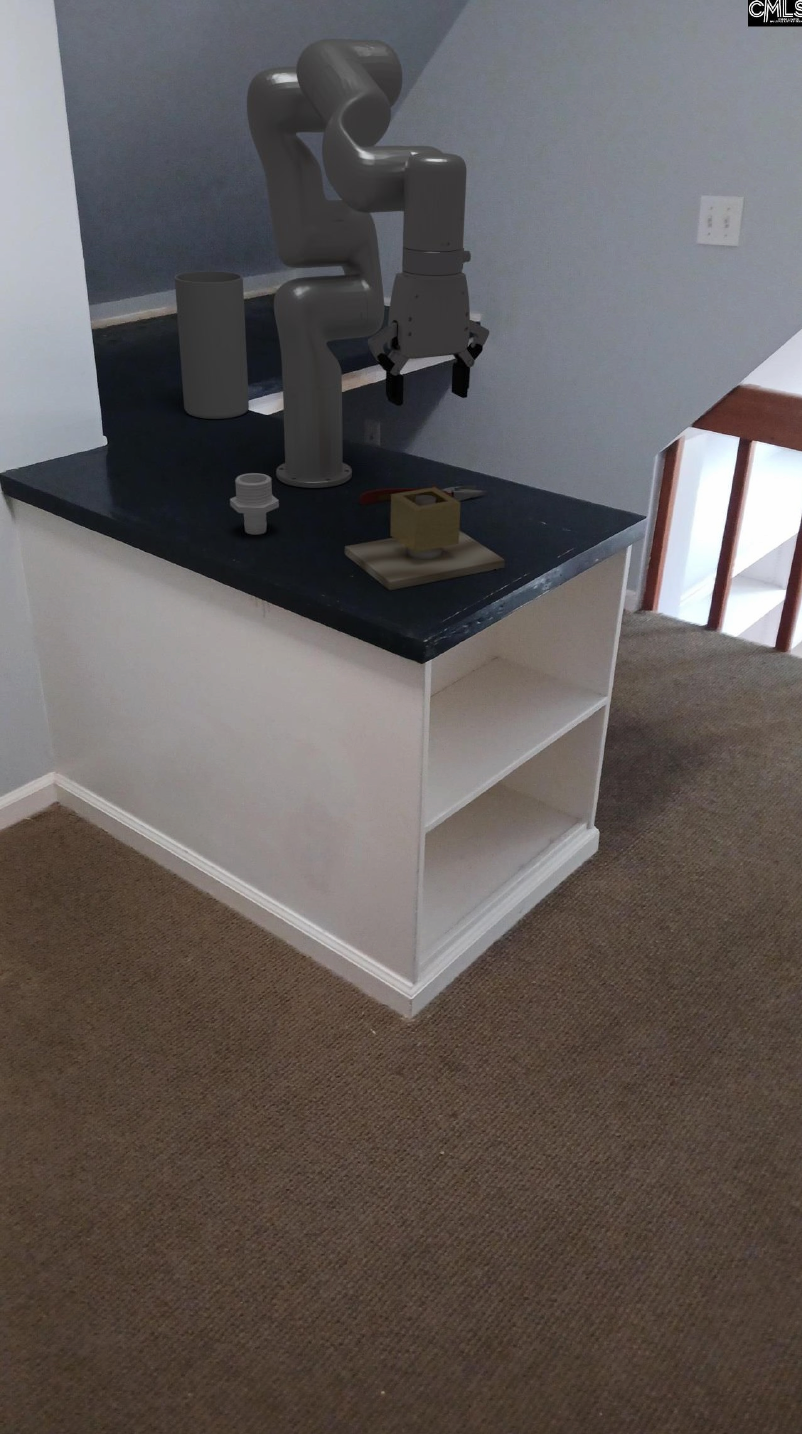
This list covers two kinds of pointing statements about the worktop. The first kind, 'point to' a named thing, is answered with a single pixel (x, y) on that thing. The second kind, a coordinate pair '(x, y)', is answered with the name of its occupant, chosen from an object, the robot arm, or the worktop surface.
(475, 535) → the worktop surface
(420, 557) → the post stand
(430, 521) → the hollow wooden cube
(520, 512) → the worktop surface
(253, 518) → the pipe fitting
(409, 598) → the worktop surface
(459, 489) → the pliers
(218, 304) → the cylinder vase
